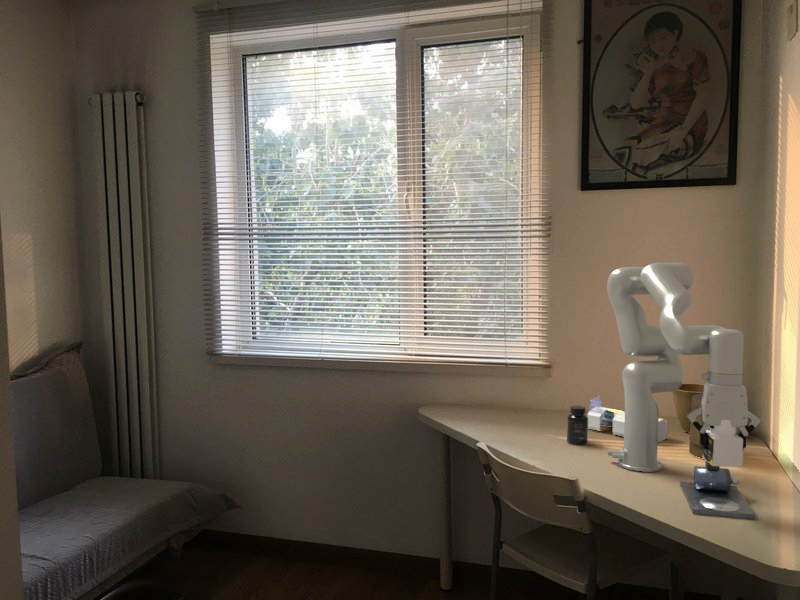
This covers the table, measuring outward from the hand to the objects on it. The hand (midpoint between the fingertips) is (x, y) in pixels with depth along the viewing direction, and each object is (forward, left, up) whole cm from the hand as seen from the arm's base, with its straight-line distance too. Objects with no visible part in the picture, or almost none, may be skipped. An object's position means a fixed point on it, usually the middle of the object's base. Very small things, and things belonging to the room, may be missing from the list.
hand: (722, 448), depth 167 cm
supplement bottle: (-34, +50, -16) cm, 63 cm away
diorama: (-17, +64, -16) cm, 68 cm away
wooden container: (+8, +47, -16) cm, 50 cm away
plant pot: (+6, +74, -16) cm, 76 cm away
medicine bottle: (0, 0, -4) cm, 4 cm away
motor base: (0, +5, -15) cm, 16 cm away
